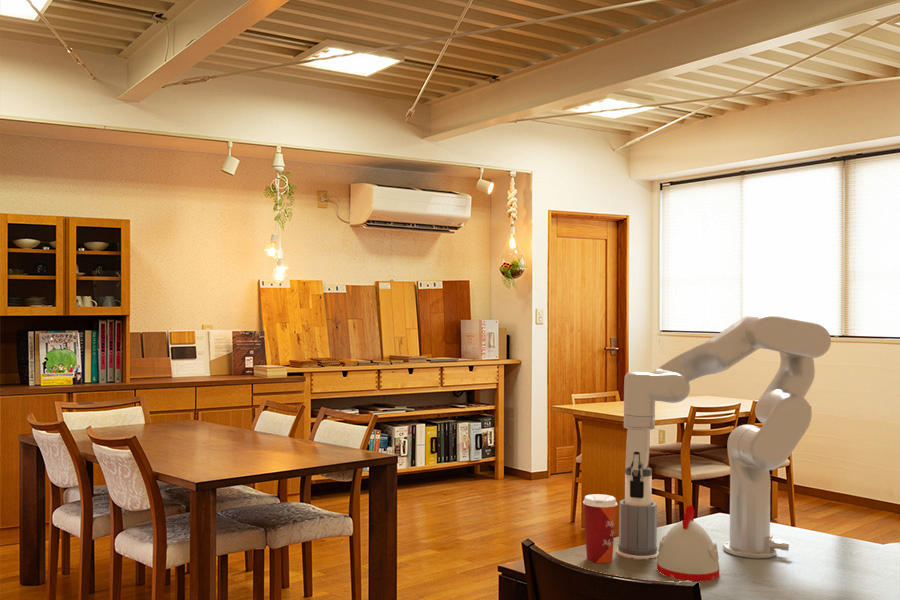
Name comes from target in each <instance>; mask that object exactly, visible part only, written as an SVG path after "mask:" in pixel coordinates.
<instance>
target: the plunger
mask: <svg viewBox="0 0 900 600" xmlns="http://www.w3.org/2000/svg"><path fill="white" fill-rule="evenodd" d="M639 468H641V467H639ZM624 471H625V472H624V473H625V474H624V499H625V504H627V505H631V506H651V501H652V491H653V490H652V487H653V486H652V483H653V482H652V481H653V479H652V477H653V473H652V472H653V469H652V468H651V467H648V466H647V467H646V469H645V470H643V481H644V496H643V498H633V497H630V480H631V467H629V469H627V468H626V467H625V468H624ZM639 472H640V471H639Z"/></svg>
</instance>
